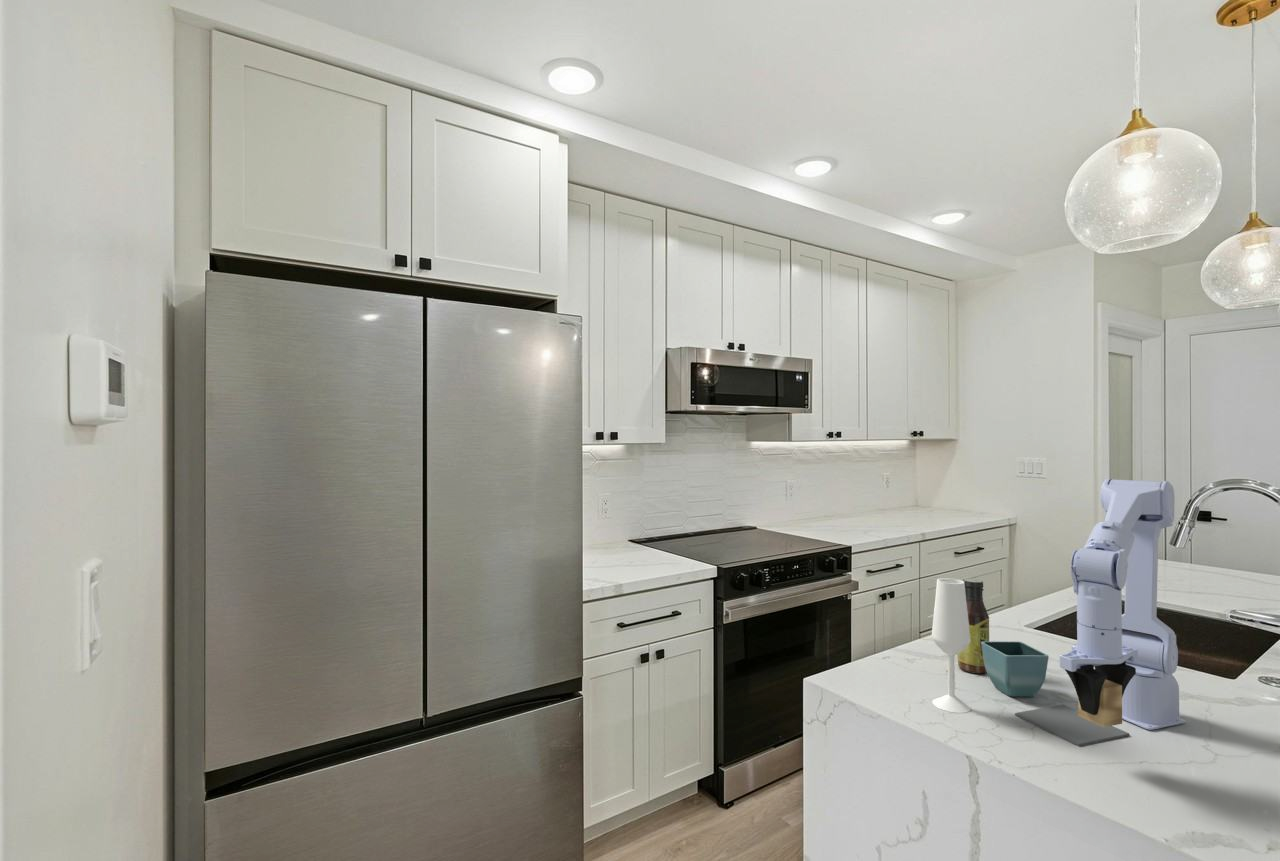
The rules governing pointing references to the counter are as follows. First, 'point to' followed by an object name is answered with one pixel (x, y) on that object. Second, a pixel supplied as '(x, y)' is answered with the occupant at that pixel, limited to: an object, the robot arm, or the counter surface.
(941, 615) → the champagne flute
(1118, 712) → the oak block
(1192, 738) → the counter surface
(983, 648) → the flower pot
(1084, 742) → the mat
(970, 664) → the sauce bottle
